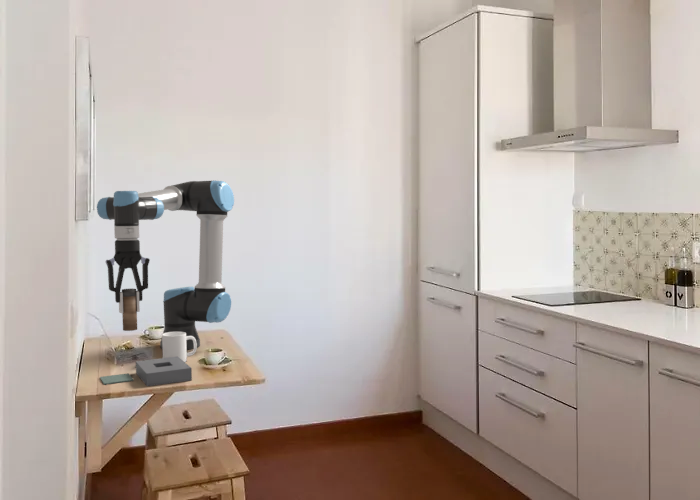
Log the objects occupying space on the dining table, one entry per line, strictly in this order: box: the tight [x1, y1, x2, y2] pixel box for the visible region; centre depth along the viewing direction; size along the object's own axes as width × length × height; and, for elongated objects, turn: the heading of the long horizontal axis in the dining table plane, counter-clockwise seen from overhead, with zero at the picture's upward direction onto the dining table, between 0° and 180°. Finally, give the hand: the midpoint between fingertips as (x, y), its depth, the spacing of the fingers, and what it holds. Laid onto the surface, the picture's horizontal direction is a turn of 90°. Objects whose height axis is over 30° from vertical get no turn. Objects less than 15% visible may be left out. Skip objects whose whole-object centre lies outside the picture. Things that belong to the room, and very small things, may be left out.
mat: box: [99, 372, 135, 386], centre depth 220 cm, size 9×9×1 cm
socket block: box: [135, 356, 193, 387], centre depth 223 cm, size 18×14×4 cm
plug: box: [121, 288, 138, 332], centre depth 219 cm, size 4×4×13 cm
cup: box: [161, 332, 198, 363], centre depth 244 cm, size 8×12×10 cm
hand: (129, 311), depth 219 cm, fingers closed on plug, 4 cm apart
